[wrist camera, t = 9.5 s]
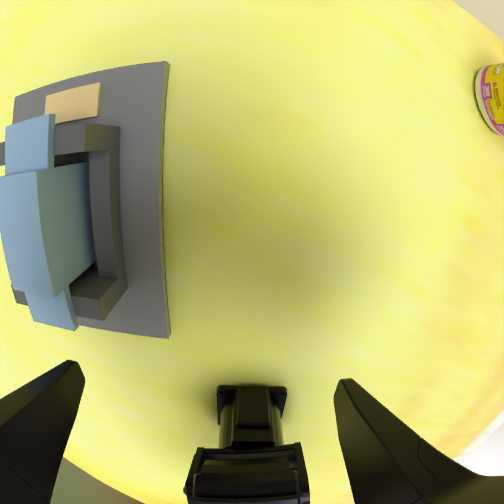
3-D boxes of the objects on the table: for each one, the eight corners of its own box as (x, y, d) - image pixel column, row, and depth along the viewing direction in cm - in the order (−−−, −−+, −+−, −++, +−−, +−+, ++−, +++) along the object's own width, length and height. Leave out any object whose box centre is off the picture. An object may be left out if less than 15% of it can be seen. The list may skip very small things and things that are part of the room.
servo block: (105, 294, 19) (67, 339, 14) (66, 289, 19) (26, 328, 13) (93, 118, 15) (37, 112, 9) (51, 126, 15) (-5, 127, 9)
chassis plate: (170, 332, 21) (154, 377, 17) (41, 311, 21) (13, 341, 16) (169, 64, 14) (142, 37, 10) (20, 97, 14) (-21, 95, 9)
